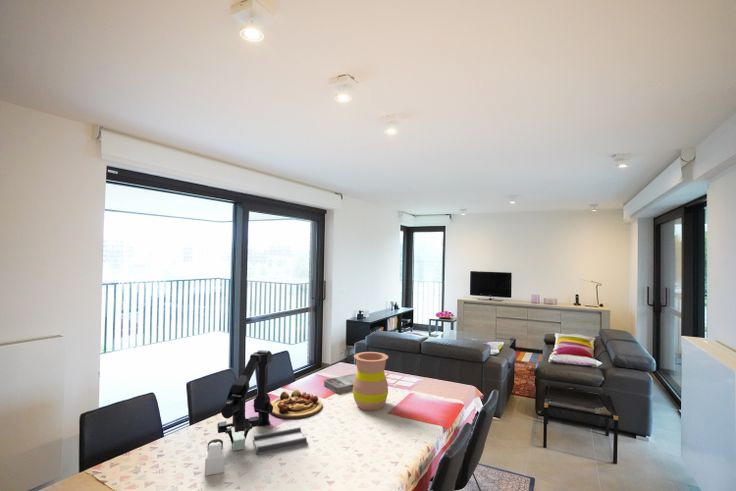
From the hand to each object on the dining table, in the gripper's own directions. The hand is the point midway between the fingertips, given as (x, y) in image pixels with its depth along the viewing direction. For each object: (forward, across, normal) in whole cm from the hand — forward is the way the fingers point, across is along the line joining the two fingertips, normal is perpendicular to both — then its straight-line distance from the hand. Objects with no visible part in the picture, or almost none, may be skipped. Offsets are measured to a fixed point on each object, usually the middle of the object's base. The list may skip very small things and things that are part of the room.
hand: (238, 442), depth 176 cm
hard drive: (+3, +78, +56) cm, 96 cm away
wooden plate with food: (+3, +36, +34) cm, 49 cm away
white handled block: (+2, -11, -16) cm, 20 cm away
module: (+2, 0, 0) cm, 2 cm away
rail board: (+2, +19, -5) cm, 20 cm away
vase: (+2, +79, +19) cm, 81 cm away
